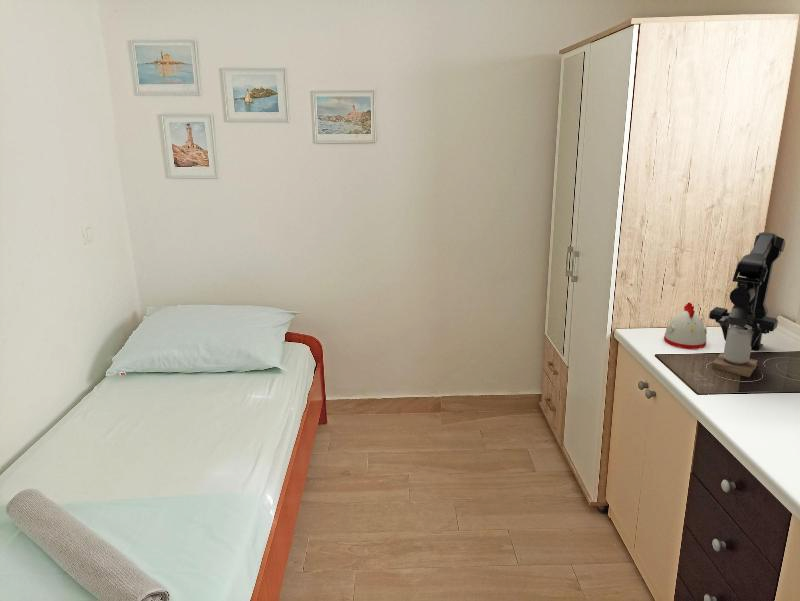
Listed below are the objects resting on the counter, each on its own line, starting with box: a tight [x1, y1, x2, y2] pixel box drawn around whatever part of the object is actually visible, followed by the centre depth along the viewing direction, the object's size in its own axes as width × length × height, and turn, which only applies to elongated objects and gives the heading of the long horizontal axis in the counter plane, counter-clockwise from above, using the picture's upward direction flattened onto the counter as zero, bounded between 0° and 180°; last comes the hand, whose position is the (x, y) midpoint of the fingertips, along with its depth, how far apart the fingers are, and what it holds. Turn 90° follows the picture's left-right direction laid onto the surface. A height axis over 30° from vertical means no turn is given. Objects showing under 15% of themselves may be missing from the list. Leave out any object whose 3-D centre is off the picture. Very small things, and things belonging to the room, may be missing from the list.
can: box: [723, 324, 754, 364], centre depth 196 cm, size 8×8×12 cm
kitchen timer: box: [663, 302, 708, 350], centre depth 218 cm, size 14×14×15 cm
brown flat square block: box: [711, 352, 759, 378], centre depth 199 cm, size 11×11×2 cm
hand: (738, 343), depth 196 cm, fingers closed on can, 7 cm apart
